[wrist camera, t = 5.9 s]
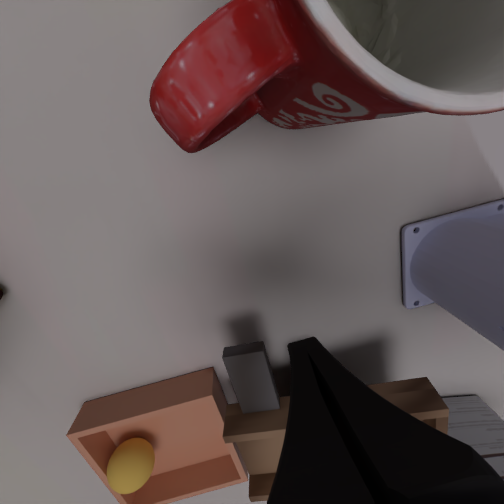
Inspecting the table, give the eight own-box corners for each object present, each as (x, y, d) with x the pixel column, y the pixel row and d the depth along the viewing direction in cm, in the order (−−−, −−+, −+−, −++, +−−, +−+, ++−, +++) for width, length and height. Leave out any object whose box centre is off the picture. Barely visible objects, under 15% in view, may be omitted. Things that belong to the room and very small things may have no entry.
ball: (137, 419, 26) (151, 448, 23) (152, 444, 27) (167, 475, 24) (94, 453, 24) (103, 490, 21) (113, 478, 25) (125, 516, 22)
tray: (213, 367, 24) (212, 395, 21) (245, 448, 29) (248, 480, 26) (84, 402, 24) (66, 435, 21) (137, 478, 28) (128, 514, 26)
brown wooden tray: (423, 309, 18) (453, 340, 15) (422, 446, 24) (443, 487, 21) (206, 345, 20) (197, 379, 17) (253, 465, 26) (252, 505, 23)
